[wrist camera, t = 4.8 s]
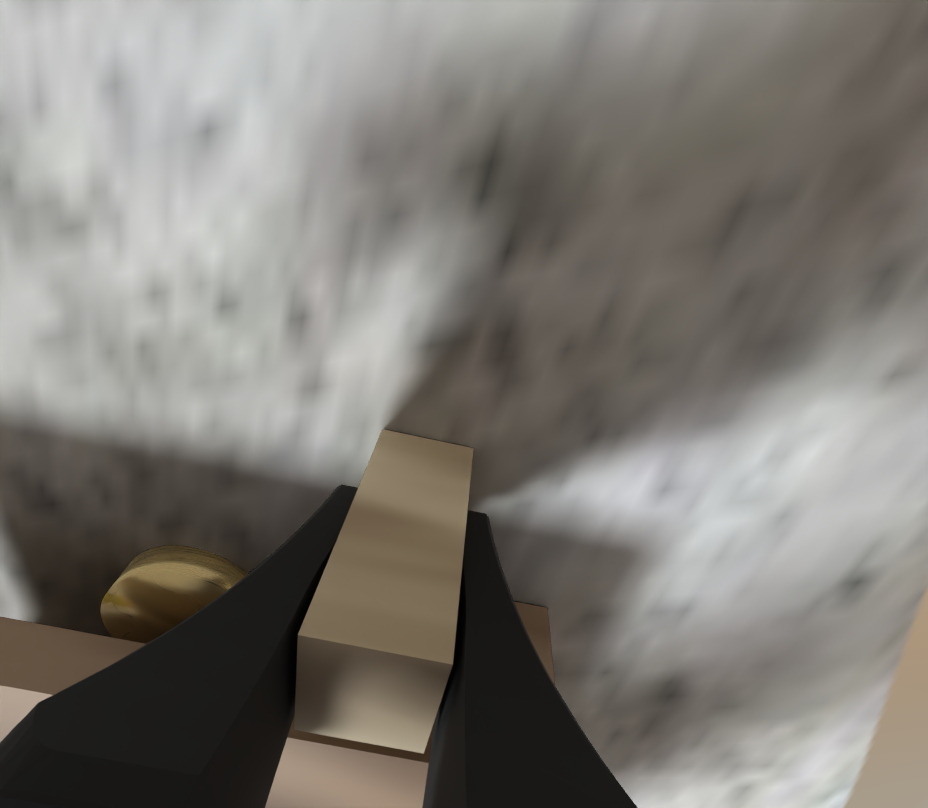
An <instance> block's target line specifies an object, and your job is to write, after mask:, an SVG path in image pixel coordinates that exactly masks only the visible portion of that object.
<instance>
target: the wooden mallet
mask: <svg viewBox="0 0 928 808" xmlns="http://www.w3.org/2000/svg"><path fill="white" fill-rule="evenodd" d="M472 459H473V448H470V447H465V446H461V445H456V444H451V443H446V442H441V441H437V440H432V439H427V438H422V437H417V436H413V435H408V434H403V433H398V432H394V431H389V430H384V429H382V432H381V434H380V437H379V439H378V441H377V444H376V446H375V449H374V451H373V454H372V456H371V458H370V461H369V463H368V466H367V468H366V470H365V473H364V475H363V478H362V480H361V483H360V485H359V487H358V490H357V492H356V495H355V497H354V500H353V502H352V504H351V507H350V509H349V512H348V514H347V517H346V519H345V521H344V524H343V526H342V529H341V531H340V534H339V536H338V538H337V541H336V543H335V546H334V548H333V551H332V553H331V555H330V558H329V560H328V563H327V565H326V568H325V570H324V572H323V575H322V577H321V580H320V582H319V585H318V587H317V589H316V592H315V594H314V597H313V599H312V601H311V604H310V606H309V609H308V611H307V614H306V616H305V618H304V621H303V623H302V626H301V628H300V631H299V633H298V642H297V669H296V697H295V725H294V730H298V731H304V732H309V733H315V734H320V735H326V736H331V737H336V738H342V739H347V740H353V741H358V742H364V743H369V744H374V745H380V746H385V747H391V748H396V749H402V750H407V751H413V752H418V753H423V754H424V751H425V748H426V745H427V742H428V739H429V736H430V733H431V730H432V727H433V724H434V721H435V717H436V714H437V711H438V708H439V705H440V702H441V699H442V696H443V693H444V690H445V687H446V684H447V681H448V678H449V675H450V672H451V669H452V666H453V658H454V647H455V637H456V626H457V616H458V605H459V595H460V584H461V574H462V563H463V553H464V543H465V532H466V522H467V511H468V501H469V490H470V480H471V469H472Z"/></svg>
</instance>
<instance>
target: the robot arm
mask: <svg viewBox="0 0 928 808" xmlns="http://www.w3.org/2000/svg"><path fill="white" fill-rule="evenodd" d="M357 490H358V488H356V487H351V486H346V485H341V486H339V487H337V488H336V489H335V491H334V492H333V493H332V494H331V496H330V497H329V498H328V499H327V500H326V501H325V502H324V504H323V505H322V506H321V507H320V508H319V509H318V510H317V511H316V512H315V513H314V514H313V515H312V516H311V517H310V518H309V519H308V521H307V522H306V523H305V524H303V525H302V526H301V527H300V528H299V529H298V530H297V531H296V532H295V533H294V534H293V535H292V536H291V537H290V538H289V539H288V540H287V541H286V542H285V543H284V544H283V545H282V546H281V547H279V548H278V549H277V550H276V551H275V552H274V553H273V554H271V555H270V556H269V557H268V558H267V559H266V560H264V561H263V562H262V563H261V564H260V565H259V566H258V567H256V568H255V569H254V570H253V571H252V572H250V573H249V574H248V575H247V576H245V577H244V578H243V579H242V580H240V581H239V582H238V583H236V584H235V585H234V586H233V587H231V588H230V589H229V590H227V591H226V592H225V593H223V594H222V595H221V596H219V597H218V598H216V599H215V600H214V601H212V602H211V603H209V604H208V605H206V606H205V607H203V608H202V609H201V610H199V611H198V612H196V613H195V614H193V615H192V616H190V617H189V618H187V619H186V620H184V621H183V622H181V623H180V624H178V625H177V626H175V627H174V628H172V629H171V630H169V631H167V632H166V633H164V634H162V635H161V636H159V637H157V638H156V639H154V640H152V641H151V642H149V643H147V644H146V645H144V646H142V647H141V648H139V649H137V650H136V651H134V652H132V653H130V654H129V655H127V656H125V657H124V658H122V659H120V660H119V661H117V662H115V663H113V664H111V665H110V666H108V667H106V668H104V669H102V670H100V671H98V672H96V673H94V674H93V675H91V676H89V677H87V678H85V679H83V680H81V681H79V682H77V683H75V684H73V685H72V686H70V687H68V688H66V689H64V690H62V691H60V692H58V693H56V694H54V695H52V696H50V697H48V698H46V699H44V700H42V701H40V702H39V703H37V705H36V706H35V707H34V708H33V709H32V710H31V711H30V712H29V713H28V714H27V715H26V716H25V717H24V718H23V719H22V720H21V721H20V722H19V723H18V724H17V725H16V726H15V727H14V728H13V729H12V730H11V731H10V733H9V734H8V735H7V736H6V737H5V738H4V739H3V740H2V741H1V743H0V808H265V806H266V803H267V800H268V796H269V793H270V790H271V787H272V784H273V780H274V777H275V774H276V771H277V768H278V765H279V762H280V759H281V755H282V752H283V749H284V746H285V743H286V740H287V737H288V734H289V731H290V727H291V724H292V721H293V718H294V715H295V697H296V669H297V642H298V633H299V631H300V628H301V626H302V623H303V621H304V618H305V616H306V614H307V611H308V609H309V606H310V604H311V601H312V599H313V597H314V594H315V592H316V589H317V587H318V585H319V582H320V580H321V577H322V575H323V572H324V570H325V568H326V565H327V563H328V560H329V558H330V555H331V553H332V551H333V548H334V546H335V543H336V541H337V538H338V536H339V534H340V531H341V529H342V526H343V524H344V521H345V519H346V517H347V514H348V512H349V509H350V507H351V504H352V502H353V500H354V497H355V495H356V492H357ZM422 808H637V806H636V805H635V804H634V803H633V801H632V800H631V799H630V797H629V796H628V795H627V793H626V792H625V791H624V789H623V788H622V787H621V785H620V784H619V783H618V781H617V780H616V779H615V777H614V776H613V774H612V773H611V772H610V770H609V769H608V767H607V766H606V765H605V763H604V762H603V761H602V759H601V758H600V756H599V755H598V753H597V752H596V750H595V749H594V747H593V746H592V744H591V743H590V741H589V740H588V738H587V737H586V735H585V734H584V733H583V731H582V730H581V728H580V726H579V725H578V723H577V721H576V720H575V718H574V717H573V715H572V713H571V712H570V710H569V708H568V707H567V705H566V703H565V702H564V700H563V699H562V697H561V695H560V694H559V692H558V690H557V689H556V687H555V685H554V684H553V682H552V680H551V678H550V676H549V674H548V673H547V671H546V669H545V667H544V665H543V663H542V662H541V660H540V658H539V656H538V654H537V652H536V650H535V648H534V646H533V644H532V642H531V639H530V637H529V635H528V633H527V631H526V629H525V626H524V624H523V622H522V620H521V617H520V615H519V613H518V610H517V608H516V605H515V603H514V600H513V598H512V595H511V593H510V590H509V587H508V584H507V581H506V579H505V576H504V573H503V570H502V567H501V564H500V561H499V558H498V554H497V551H496V547H495V544H494V540H493V536H492V531H491V527H490V521H489V517H488V516H487V515H486V514H484V513H479V512H474V511H469V510H468V511H467V522H466V532H465V543H464V553H463V563H462V574H461V584H460V595H459V605H458V616H457V626H456V637H455V647H454V658H453V666H452V669H451V672H450V675H449V678H448V681H447V684H446V687H445V690H444V693H443V696H442V699H441V702H440V705H439V708H438V711H437V714H436V717H435V721H434V728H433V735H432V742H431V750H430V757H429V764H428V771H427V778H426V786H425V793H424V800H423V807H422Z"/></svg>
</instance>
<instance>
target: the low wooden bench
mask: <svg viewBox="0 0 928 808" xmlns="http://www.w3.org/2000/svg"><path fill="white" fill-rule="evenodd" d="M514 603H515V605H516V608H517V610H518V613H519V615H520V617H521V620H522V622H523V624H524V626H525V629H526V631H527V633H528V635H529V637H530V639H531V642H532V644H533V646H534V648H535V650H536V652H537V654H538V656H539V658H540V660H541V662H542V663H543V665H544V667H545V669H546V671H547V673H548V674H549V676H550V678H551V680H552V682H553V684H554V685H555V681H554V670H553V660H552V649H551V639H550V628H549V618H548V608H545V607H540V606H535V605H530V604H525V603H519V602H514ZM144 645H146V644H144V643H139V642H133V641H128V640H122V639H117V638H112V637H106V636H101V635H96V634H90V633H85V632H80V631H74V630H69V629H64V628H58V627H53V626H48V625H42V624H37V623H32V622H26V621H21V620H15V619H10V618H5V617H0V743H1V741H2V740H3V739H4V738H5V737H6V736H7V735H8V734H9V733H10V731H11V730H12V729H13V728H14V727H15V726H16V725H17V724H18V723H19V722H20V721H21V720H22V719H23V718H24V717H25V716H26V715H27V714H28V713H29V712H30V711H31V710H32V709H33V708H34V707H35V706H36V705H37V703H39V702H40V701H42V700H44V699H46V698H48V697H50V696H52V695H54V694H56V693H58V692H60V691H62V690H64V689H66V688H68V687H70V686H72V685H73V684H75V683H77V682H79V681H81V680H83V679H85V678H87V677H89V676H91V675H93V674H94V673H96V672H98V671H100V670H102V669H104V668H106V667H108V666H110V665H111V664H113V663H115V662H117V661H119V660H120V659H122V658H124V657H125V656H127V655H129V654H130V653H132V652H134V651H136V650H137V649H139V648H141V647H142V646H144ZM294 725H295V715H294V718H293V721H292V724H291V727H290V731H289V734H288V737H287V740H286V743H285V746H284V749H283V752H282V755H281V759H280V762H279V765H278V768H277V771H276V774H275V777H274V780H273V784H272V787H271V790H270V793H269V796H268V800H267V803H266V806H265V808H422V807H423V800H424V793H425V786H426V778H427V771H428V764H429V757H430V750H431V742H432V735H433V728H434V724H433V727H432V730H431V733H430V736H429V739H428V742H427V745H426V748H425V751H424V754H423V753H418V752H413V751H407V750H402V749H396V748H391V747H385V746H380V745H374V744H369V743H364V742H358V741H353V740H347V739H342V738H336V737H331V736H326V735H320V734H315V733H309V732H304V731H298V730H294Z"/></svg>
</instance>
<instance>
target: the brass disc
mask: <svg viewBox="0 0 928 808" xmlns="http://www.w3.org/2000/svg"><path fill="white" fill-rule="evenodd" d="M247 575H248V574H247V573H246V572H245V571H243V570H242V569H241V568H239V567H238V566H236V565H235V564H233V563H232V562H230V561H228V560H226V559H224V558H222V557H220V556H218V555H216V554H213V553H210V552H207V551H204V550H201V549H197V548H192V547H187V546H178V545H166V546H160V547H156V548H152V549H149V550H147V551H145V552H143V553H141V554H139V555H138V556H136V557H135V558H134V559H133V560H132V561H131V562H130V563H129V565H128V566H127V567H126V568H125V570H124V571H123V572H122V574H121V575H120V576H119V577H118V579H117V580H116V581H115V583H114V584H113V585H112V587H111V588H110V589H109V590H108V592H107V593H106V594H105V596H104V598H103V600H102V603H101V608H100V610H101V618H102V621H103V624H104V626H105V628H106V629H107V631H108V632H109V634H110V635H111V636H112V637H113V638H117V639H122V640H128V641H133V642H139V643H144V644H147V643H149V642H151V641H152V640H154V639H156V638H157V637H159V636H161V635H162V634H164V633H166V632H167V631H169V630H171V629H172V628H174V627H175V626H177V625H178V624H180V623H181V622H183V621H184V620H186V619H187V618H189V617H190V616H192V615H193V614H195V613H196V612H198V611H199V610H201V609H202V608H203V607H205V606H206V605H208V604H209V603H211V602H212V601H214V600H215V599H216V598H218V597H219V596H221V595H222V594H223V593H225V592H226V591H227V590H229V589H230V588H231V587H233V586H234V585H235V584H236V583H238V582H239V581H240V580H242V579H243V578H244V577H245V576H247Z"/></svg>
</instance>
